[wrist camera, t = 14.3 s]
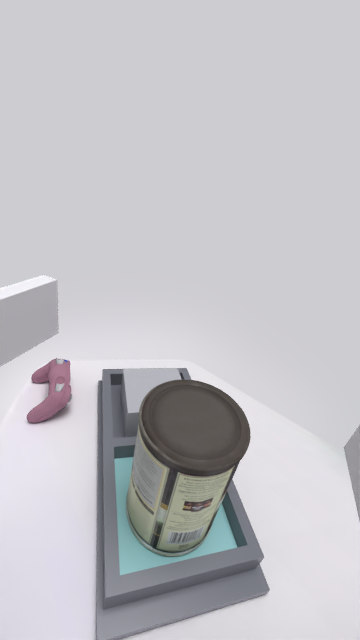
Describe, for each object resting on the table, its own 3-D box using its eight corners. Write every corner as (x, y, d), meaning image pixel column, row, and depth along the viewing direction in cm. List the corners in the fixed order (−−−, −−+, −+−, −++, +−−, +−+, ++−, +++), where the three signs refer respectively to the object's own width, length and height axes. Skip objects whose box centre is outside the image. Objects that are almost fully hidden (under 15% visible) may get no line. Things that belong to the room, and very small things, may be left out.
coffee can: (177, 448, 38) (199, 368, 32) (231, 516, 31) (273, 433, 25) (108, 488, 32) (117, 398, 25) (158, 585, 25) (189, 496, 19)
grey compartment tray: (185, 382, 52) (192, 357, 50) (266, 594, 27) (288, 566, 24) (98, 385, 47) (100, 357, 45) (96, 646, 22) (100, 619, 19)
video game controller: (56, 429, 40) (79, 395, 39) (23, 424, 38) (46, 388, 36) (56, 384, 48) (76, 353, 46) (29, 377, 45) (49, 345, 44)
